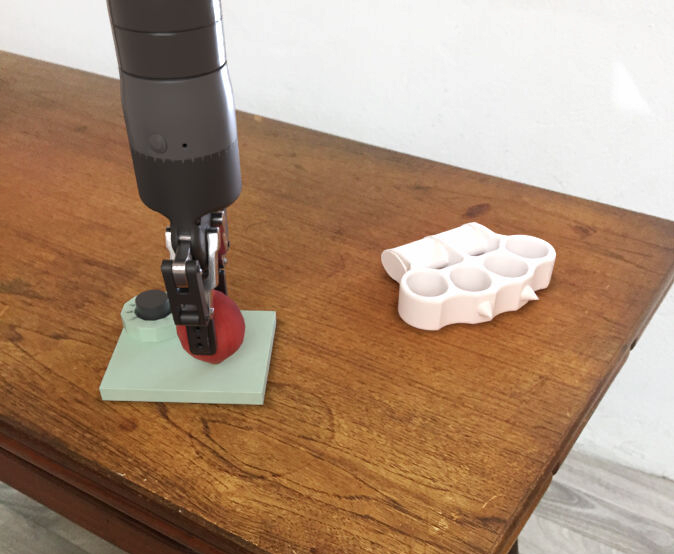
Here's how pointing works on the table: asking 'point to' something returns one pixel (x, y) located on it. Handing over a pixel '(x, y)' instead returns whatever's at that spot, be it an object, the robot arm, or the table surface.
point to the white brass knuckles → (467, 275)
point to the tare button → (152, 305)
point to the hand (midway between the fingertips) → (210, 328)
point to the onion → (220, 329)
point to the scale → (186, 364)
